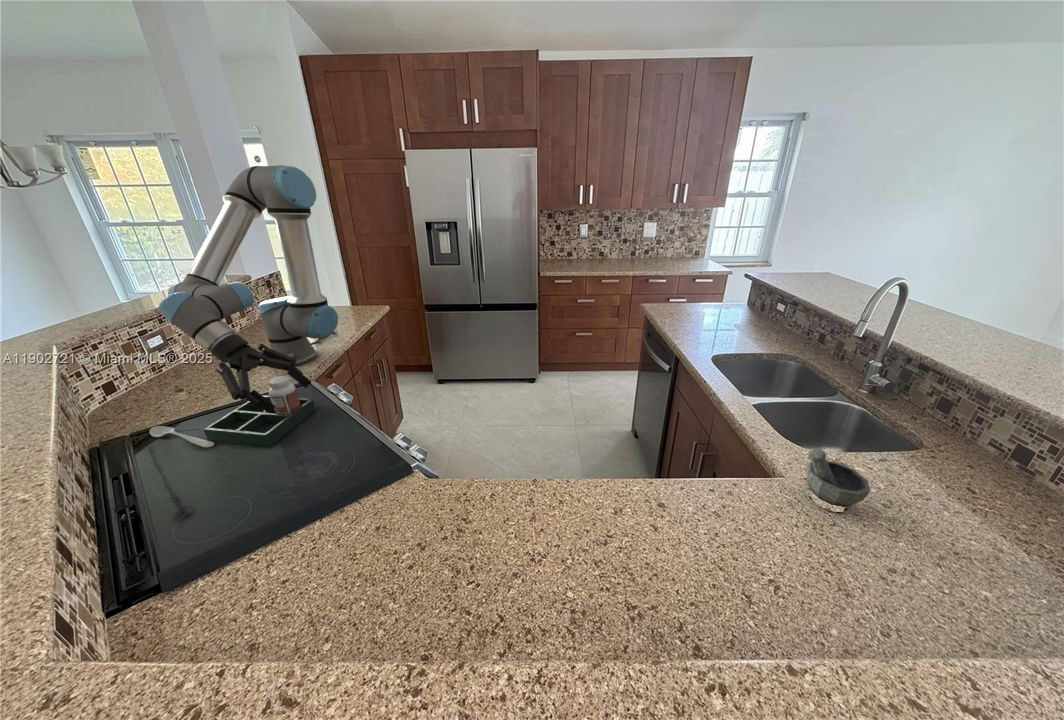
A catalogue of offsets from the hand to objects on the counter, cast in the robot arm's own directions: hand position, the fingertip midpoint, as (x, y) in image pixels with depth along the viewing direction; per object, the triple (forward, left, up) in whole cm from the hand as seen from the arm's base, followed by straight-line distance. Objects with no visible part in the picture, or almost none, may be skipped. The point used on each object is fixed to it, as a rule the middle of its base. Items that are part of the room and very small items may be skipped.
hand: (291, 396), depth 101 cm
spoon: (+13, -22, -7) cm, 27 cm away
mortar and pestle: (+13, +129, -7) cm, 130 cm away
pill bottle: (0, -2, -6) cm, 7 cm away
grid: (+4, -7, -7) cm, 10 cm away
